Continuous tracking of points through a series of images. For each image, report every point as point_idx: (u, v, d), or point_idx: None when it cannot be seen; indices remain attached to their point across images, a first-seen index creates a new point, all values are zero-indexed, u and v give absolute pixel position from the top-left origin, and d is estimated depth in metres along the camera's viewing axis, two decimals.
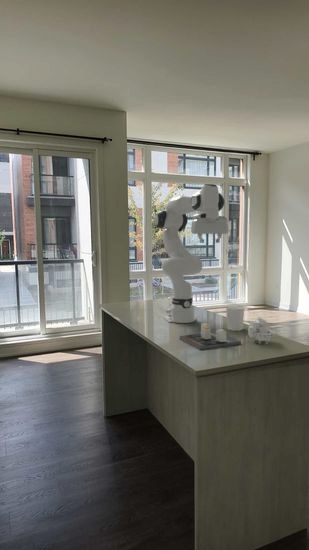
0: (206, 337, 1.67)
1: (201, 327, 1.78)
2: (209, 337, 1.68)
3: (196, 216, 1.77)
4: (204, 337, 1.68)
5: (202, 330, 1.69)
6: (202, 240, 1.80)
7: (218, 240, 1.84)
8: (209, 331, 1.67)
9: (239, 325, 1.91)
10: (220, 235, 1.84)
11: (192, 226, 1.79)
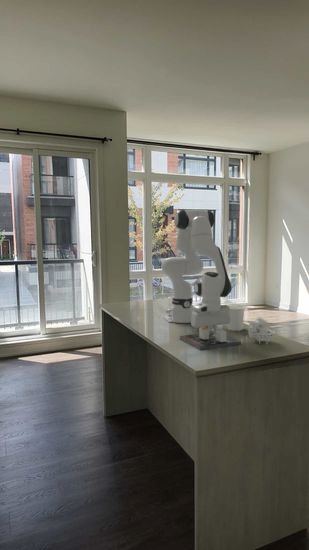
0: (204, 337, 1.67)
1: None
2: (207, 337, 1.67)
3: (196, 309, 1.64)
4: (202, 338, 1.67)
5: (200, 330, 1.68)
6: (210, 332, 1.69)
7: (213, 332, 1.69)
8: (207, 331, 1.67)
9: (239, 325, 1.91)
10: (215, 327, 1.69)
11: (192, 319, 1.66)
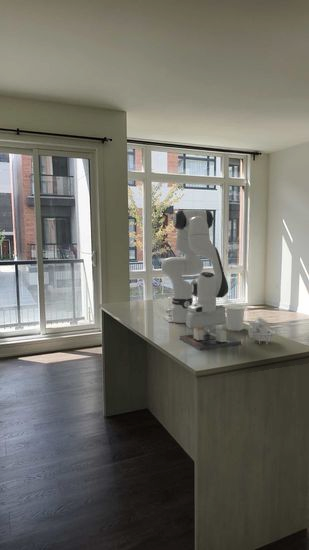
0: (198, 338, 1.65)
1: None
2: (202, 338, 1.66)
3: (191, 309, 1.63)
4: (196, 338, 1.66)
5: (195, 331, 1.67)
6: (205, 333, 1.68)
7: (208, 333, 1.69)
8: (202, 332, 1.66)
9: (239, 325, 1.91)
10: (210, 327, 1.69)
11: (187, 319, 1.66)
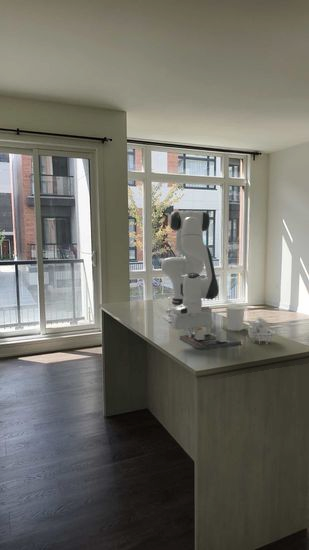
0: (199, 338, 1.66)
1: (201, 327, 1.78)
2: (202, 338, 1.66)
3: (176, 311, 1.61)
4: (197, 338, 1.66)
5: None
6: (191, 335, 1.65)
7: (194, 334, 1.66)
8: (202, 332, 1.66)
9: (239, 325, 1.91)
10: (196, 329, 1.66)
11: (172, 321, 1.63)
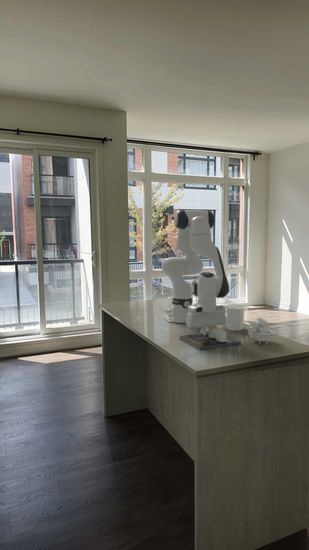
0: (213, 336, 1.68)
1: None
2: None
3: (191, 310, 1.64)
4: (211, 336, 1.69)
5: None
6: (206, 333, 1.68)
7: (208, 333, 1.69)
8: (216, 330, 1.69)
9: (239, 325, 1.91)
10: (210, 327, 1.69)
11: (187, 319, 1.66)
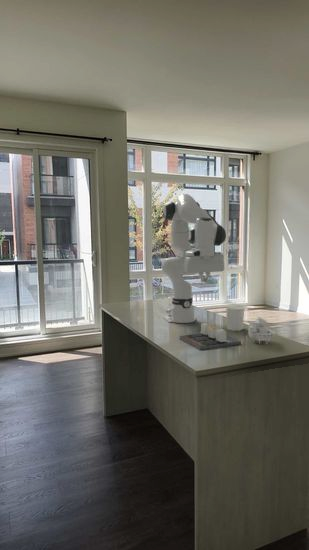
0: (213, 336, 1.68)
1: (201, 327, 1.78)
2: None
3: (189, 254, 1.61)
4: (211, 336, 1.69)
5: (209, 329, 1.70)
6: (203, 279, 1.65)
7: (206, 279, 1.66)
8: (216, 330, 1.69)
9: (239, 325, 1.91)
10: (208, 273, 1.66)
11: (184, 264, 1.63)
